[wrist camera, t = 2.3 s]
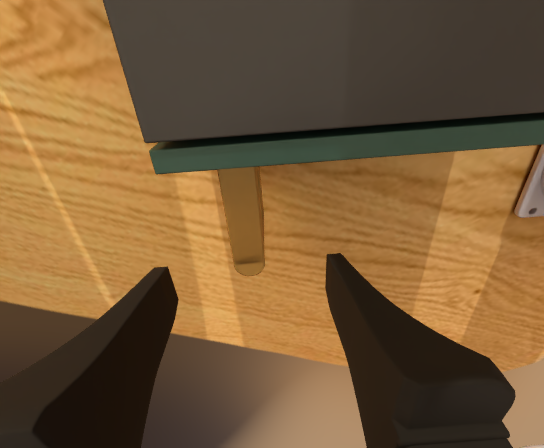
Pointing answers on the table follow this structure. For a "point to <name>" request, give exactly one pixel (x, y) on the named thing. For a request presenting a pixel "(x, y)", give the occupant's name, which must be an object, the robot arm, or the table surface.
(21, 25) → the table surface
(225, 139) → the cubby door
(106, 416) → the robot arm
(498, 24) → the cubby
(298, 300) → the table surface
